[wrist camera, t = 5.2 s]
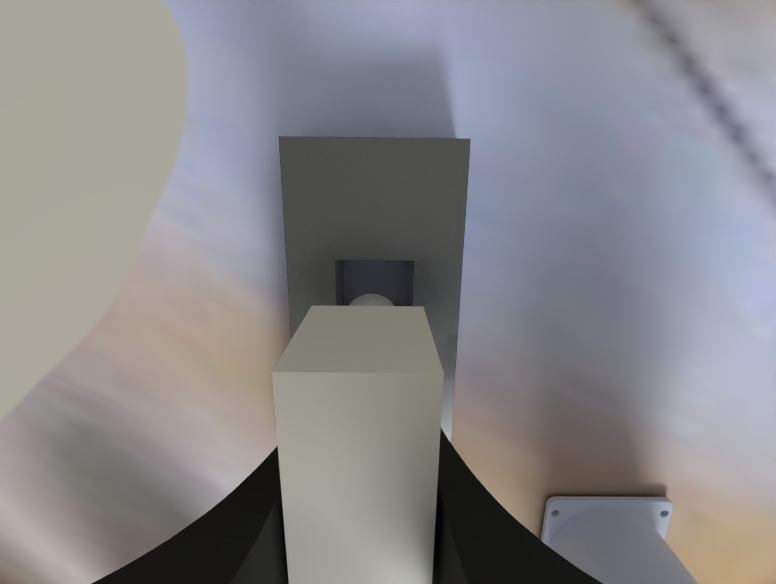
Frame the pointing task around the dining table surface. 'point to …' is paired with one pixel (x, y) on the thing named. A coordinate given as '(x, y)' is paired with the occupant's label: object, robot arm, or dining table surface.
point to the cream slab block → (359, 444)
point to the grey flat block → (378, 225)
